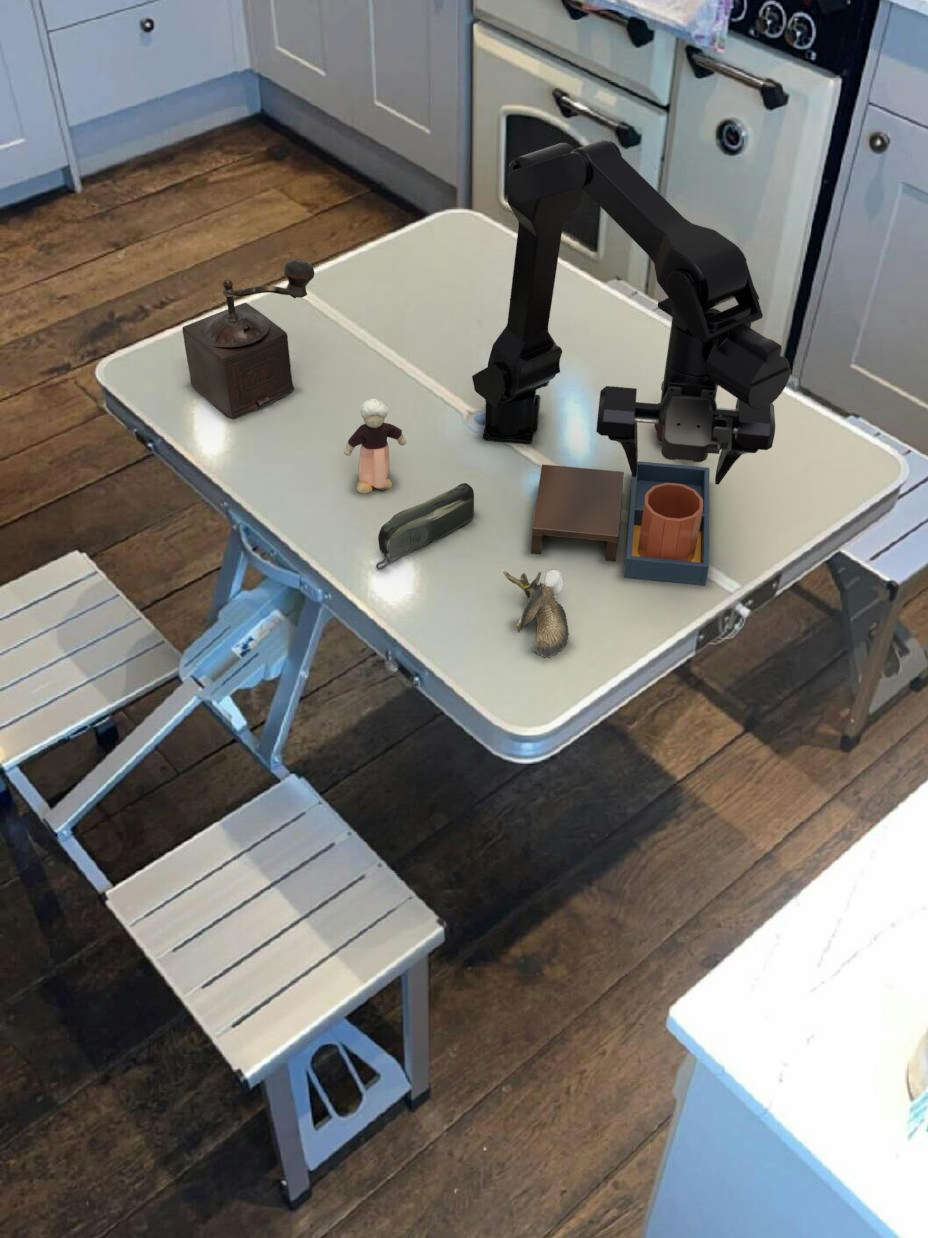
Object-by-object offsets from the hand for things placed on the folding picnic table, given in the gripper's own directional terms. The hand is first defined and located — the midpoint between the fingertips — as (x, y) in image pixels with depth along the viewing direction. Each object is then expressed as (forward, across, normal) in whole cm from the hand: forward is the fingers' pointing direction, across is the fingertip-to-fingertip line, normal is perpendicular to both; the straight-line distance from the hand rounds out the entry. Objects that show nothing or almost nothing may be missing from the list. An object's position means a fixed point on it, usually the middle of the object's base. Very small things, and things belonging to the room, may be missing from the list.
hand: (675, 478), depth 145 cm
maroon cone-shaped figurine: (+11, +1, +22) cm, 24 cm away
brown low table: (+11, -11, +4) cm, 16 cm away
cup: (+10, 0, 0) cm, 11 cm away
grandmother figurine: (+11, -36, +8) cm, 38 cm away
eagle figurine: (+11, -14, -14) cm, 23 cm away
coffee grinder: (+11, -56, +27) cm, 63 cm away
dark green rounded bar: (+11, -28, -2) cm, 31 cm away
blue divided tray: (+11, 0, +4) cm, 12 cm away
